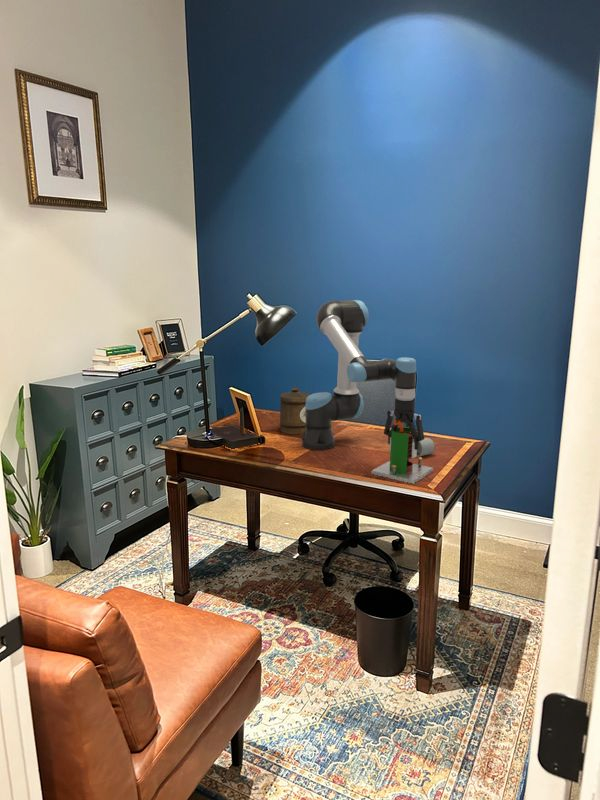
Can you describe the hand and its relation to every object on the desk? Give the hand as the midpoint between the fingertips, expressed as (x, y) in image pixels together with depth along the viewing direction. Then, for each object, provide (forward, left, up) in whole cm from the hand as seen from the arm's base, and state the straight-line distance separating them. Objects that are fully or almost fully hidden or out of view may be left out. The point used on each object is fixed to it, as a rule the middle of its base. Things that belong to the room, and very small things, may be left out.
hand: (403, 454), depth 236 cm
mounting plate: (0, 0, -7) cm, 7 cm away
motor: (-1, 0, -6) cm, 6 cm away
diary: (-83, -7, -8) cm, 84 cm away
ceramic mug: (-5, +25, -8) cm, 27 cm away
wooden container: (-71, +24, -8) cm, 75 cm away
